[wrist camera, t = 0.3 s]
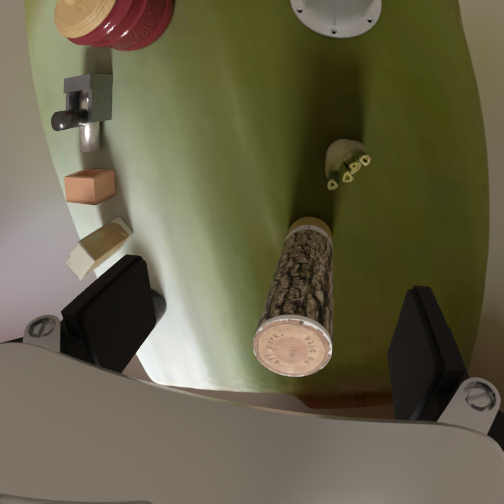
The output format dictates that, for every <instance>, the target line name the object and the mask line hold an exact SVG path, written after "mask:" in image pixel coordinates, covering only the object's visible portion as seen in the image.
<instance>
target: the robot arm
mask: <svg viewBox="0 0 504 504" xmlns="http://www.w3.org/2000/svg"><path fill="white" fill-rule="evenodd" d="M290 2H291V6H292V9H293V11H294V13H295V15H296V16H297V18H298V19H299V20H300V21H301V22H302V23H303V24H304V25H305V26H306V27H308V28H309V29H310V30H312V31H314V32H316V33H318V34H321V35H324V36H327V37H332V38H352V37H356V36H359V35H361V34H363V33H365V32H367V31H368V30H369V29H371V28H372V27H373V26H374V24H375V23H376V22H377V20H378V18H379V16H380V13H381V0H290ZM299 11H302V13H299ZM368 20H370V21H371V23H369V22H368ZM333 31H334V32H336V34H333V33H332V32H333ZM61 313H62V316H63V320H62V321H61V322H60V320H59V319H58V317H56V316H54V315H43V316H40V317H37V318H36V319H34V320H32V321H31V322H30V323H29V324H28V325H27V326H26V328H25V331H24V337H22V338H18V339H14V340H10V341H7V342H3V343H0V504H504V413H502V412H501V411H499V410H498V409H499V407H500V395H499V393H498V391H497V389H496V388H495V387H494V386H493V385H492V384H491V383H490V382H488V381H486V380H484V379H482V378H469V376H468V373H467V371H466V368H465V365H464V362H463V360H462V357H461V355H460V352H459V349H458V347H457V344H456V342H455V339H454V337H453V335H452V332H451V330H450V328H449V327H448V326H447V323H446V321H445V319H444V316H443V314H442V312H441V310H440V307H439V305H438V303H437V301H436V299H435V296H434V294H433V292H432V290H431V288H430V287H425V286H413V288H412V290H411V289H408V291H407V293H406V296H405V300H404V303H403V306H402V310H401V313H400V316H399V320H398V323H397V326H396V329H395V332H394V335H393V338H392V341H391V344H390V347H389V350H388V365H389V372H390V379H391V387H392V395H393V404H394V414H395V420H390V419H388V420H387V419H368V418H353V417H339V416H328V415H318V414H308V413H300V412H292V411H284V410H277V409H270V408H264V407H258V406H252V405H247V404H241V403H236V402H230V401H225V400H220V399H216V398H211V397H207V396H202V395H198V394H193V393H189V392H185V391H181V390H177V389H173V388H169V387H165V386H162V385H158V384H155V383H151V382H147V381H144V380H140V379H137V378H134V377H131V376H127V375H124V374H121V373H122V371H123V370H124V369H125V367H126V366H127V364H128V363H129V362H130V360H131V359H132V357H133V356H134V354H135V353H136V352H137V351H138V349H139V348H140V346H141V345H142V344H143V342H144V341H145V339H146V338H147V337H148V335H149V334H150V333H151V331H152V330H153V329H154V327H155V325H156V315H155V309H154V304H153V299H152V294H151V288H150V282H149V276H148V270H147V264H146V262H145V261H144V260H143V259H142V257H141V256H136V255H128V254H127V255H125V256H124V257H122V258H121V259H120V260H119V261H118V262H116V263H115V264H114V265H113V266H112V267H111V268H109V269H108V270H107V271H106V272H105V273H103V274H102V275H101V276H100V277H99V278H98V279H97V280H95V281H94V282H93V283H92V284H91V285H90V286H89V287H87V288H86V289H85V290H84V291H83V292H82V293H81V294H80V295H78V296H77V297H76V298H75V299H74V300H73V301H72V302H71V303H70V304H68V305H67V306H66V307H65V308H64V309H63V310H62V311H61Z"/></svg>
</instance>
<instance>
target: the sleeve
mask: <svg viewBox="0 0 504 504" xmlns="http://www.w3.org/2000/svg"><path fill="white" fill-rule="evenodd" d="M112 82H113V74H86V75H81V76H76V77H71V78H66V79H64V93H66V110H73V109H79V95H80V91H81V90H88V123H93V122H99V121H105V120H111V111H112Z"/></svg>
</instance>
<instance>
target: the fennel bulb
mask: <svg viewBox="0 0 504 504" xmlns="http://www.w3.org/2000/svg"><path fill="white" fill-rule="evenodd" d="M365 152H366V150H365V147H364V145H363V144H361V143H360V142H359V141H355V140H348V139H339V140H336V141H334V142H333V143H332V144H331V145H330V146H329V148H328V150H327V152H326V162H325V173H326V177H327V180H328V182H327V188H328V190H333V189H337V188H338V186H339V180H340V178H341V179H342V181H343V182H352V181H353V180H354V177H353V175H352V174H354V173H355V172H356V171H358V170H359V169H360V167H361V165H362V164H363V165H364V166H367V165H368V164H369V163H370V161H371V156H370V155H369V154H367V153H365Z"/></svg>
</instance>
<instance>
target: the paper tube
mask: <svg viewBox="0 0 504 504" xmlns="http://www.w3.org/2000/svg"><path fill="white" fill-rule="evenodd" d="M332 342H333V247H332V234H331V231H330V229H329V227H328V225H327V224H326V223H325V222H323V221H322V220H320V219H318V218H315V217H303V218H300V219H298V220H296V221H295V222H294V223H293V224H292V225H291V227H290V228H289V231H288V234H287V237H286V240H285V243H284V246H283V249H282V252H281V255H280V259H279V262H278V265H277V268H276V271H275V274H274V277H273V281H272V284H271V287H270V290H269V293H268V296H267V299H266V302H265V305H264V308H263V311H262V314H261V317H260V320H259V323H258V326H257V329H256V332H255V336H254V340H253V350H254V353H255V355H256V357H257V359H258V360H259V361H260V362H261V364H263V365H264V366H265V367H266V368H268V369H269V370H271V371H273V372H275V373H278V374H281V375H285V376H295V377H296V376H306V375H310V374H313V373H315V372H317V371H319V370H320V369H322V368H323V367H324V366H325V365H326V364H327V363H328V361H329V359H330V357H331V354H332Z"/></svg>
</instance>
